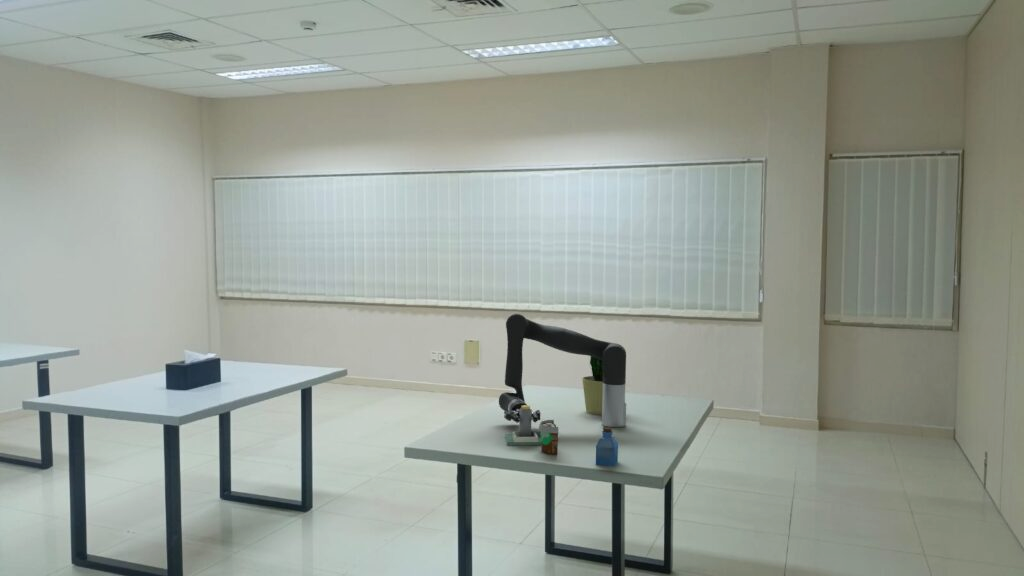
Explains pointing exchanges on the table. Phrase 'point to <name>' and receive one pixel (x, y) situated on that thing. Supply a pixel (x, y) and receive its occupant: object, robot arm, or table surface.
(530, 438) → the board
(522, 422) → the plug
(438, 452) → the table surface
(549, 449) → the food container
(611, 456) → the perfume bottle
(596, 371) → the potted cactus
